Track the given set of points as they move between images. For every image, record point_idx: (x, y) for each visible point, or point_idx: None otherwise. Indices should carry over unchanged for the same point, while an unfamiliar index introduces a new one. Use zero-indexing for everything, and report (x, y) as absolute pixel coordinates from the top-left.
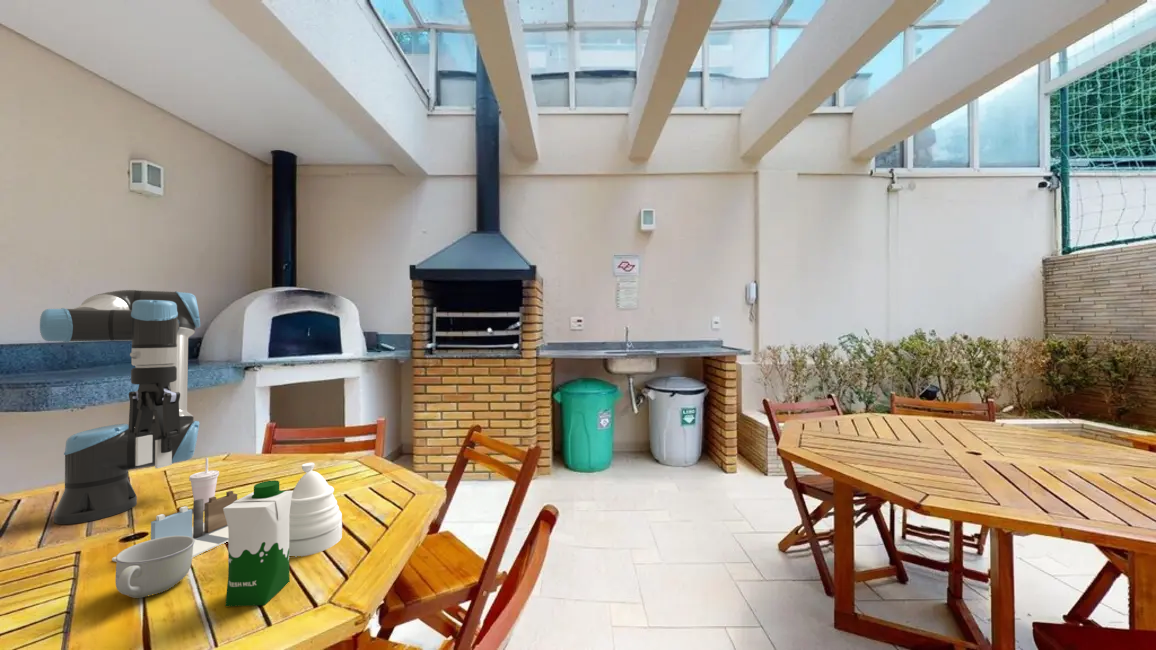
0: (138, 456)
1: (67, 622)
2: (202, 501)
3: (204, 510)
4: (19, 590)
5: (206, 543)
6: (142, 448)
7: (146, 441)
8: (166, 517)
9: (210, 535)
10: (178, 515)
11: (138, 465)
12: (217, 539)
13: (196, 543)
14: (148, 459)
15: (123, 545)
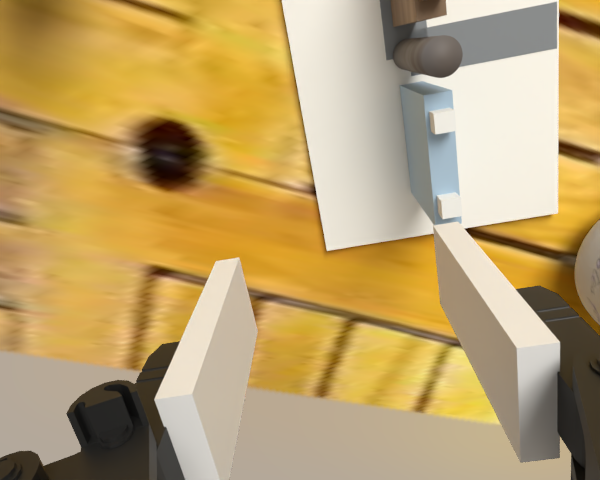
0: (249, 366)
1: None
2: (457, 45)
3: (409, 22)
4: (310, 385)
5: (507, 68)
6: (236, 383)
7: (220, 399)
8: (443, 182)
9: (446, 27)
10: (455, 144)
11: (255, 327)
12: (512, 31)
13: (469, 85)
14: (242, 292)
15: (221, 196)
